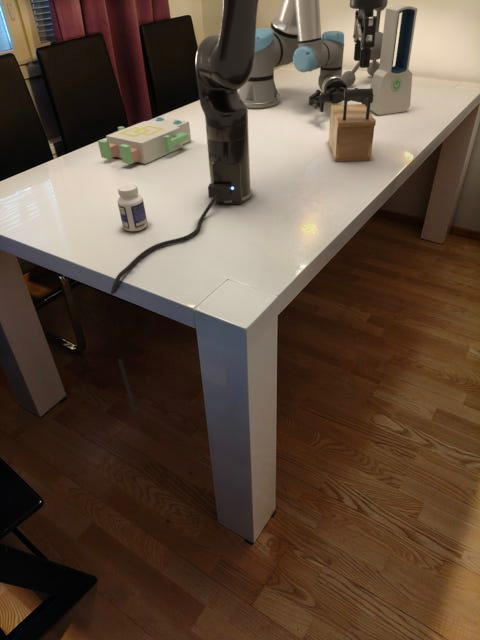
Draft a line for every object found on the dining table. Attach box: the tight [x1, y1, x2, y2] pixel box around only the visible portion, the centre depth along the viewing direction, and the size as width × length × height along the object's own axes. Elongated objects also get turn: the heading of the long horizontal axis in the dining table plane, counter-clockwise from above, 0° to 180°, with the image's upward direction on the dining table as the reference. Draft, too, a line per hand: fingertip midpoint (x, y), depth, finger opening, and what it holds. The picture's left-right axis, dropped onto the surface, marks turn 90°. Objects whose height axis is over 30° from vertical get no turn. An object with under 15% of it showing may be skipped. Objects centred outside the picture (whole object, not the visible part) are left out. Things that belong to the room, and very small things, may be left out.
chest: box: [328, 111, 375, 162], centre depth 133 cm, size 16×9×9 cm, turn 178°
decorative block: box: [97, 116, 192, 165], centre depth 142 cm, size 26×6×20 cm
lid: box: [330, 88, 376, 127], centre depth 128 cm, size 16×9×8 cm, turn 178°
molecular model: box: [342, 0, 388, 87], centre depth 186 cm, size 24×22×30 cm
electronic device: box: [370, 4, 418, 116], centre depth 155 cm, size 12×8×30 cm, turn 105°
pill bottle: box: [117, 182, 148, 232], centre depth 102 cm, size 5×5×9 cm
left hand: (361, 63), depth 117 cm, fingers open, 8 cm apart
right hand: (345, 106), depth 147 cm, fingers open, 13 cm apart
